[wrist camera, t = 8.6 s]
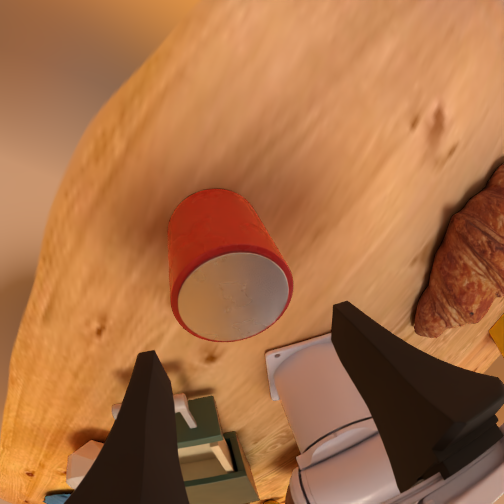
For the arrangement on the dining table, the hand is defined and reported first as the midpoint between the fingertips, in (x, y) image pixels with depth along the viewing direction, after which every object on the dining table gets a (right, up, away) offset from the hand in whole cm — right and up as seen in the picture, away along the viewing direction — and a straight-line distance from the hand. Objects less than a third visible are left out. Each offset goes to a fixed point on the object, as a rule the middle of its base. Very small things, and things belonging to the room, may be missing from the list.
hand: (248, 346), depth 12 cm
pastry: (+22, +4, +15) cm, 27 cm away
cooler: (-6, -24, +25) cm, 35 cm away
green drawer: (-7, -14, +17) cm, 23 cm away
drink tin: (-2, +5, +8) cm, 9 cm away
